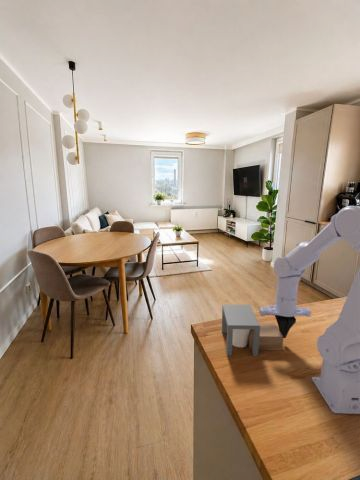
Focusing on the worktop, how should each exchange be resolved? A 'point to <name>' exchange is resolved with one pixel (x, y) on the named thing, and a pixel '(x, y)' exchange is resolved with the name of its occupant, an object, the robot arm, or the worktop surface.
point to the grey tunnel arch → (240, 324)
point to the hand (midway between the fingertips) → (282, 336)
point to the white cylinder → (240, 337)
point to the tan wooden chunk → (267, 337)
